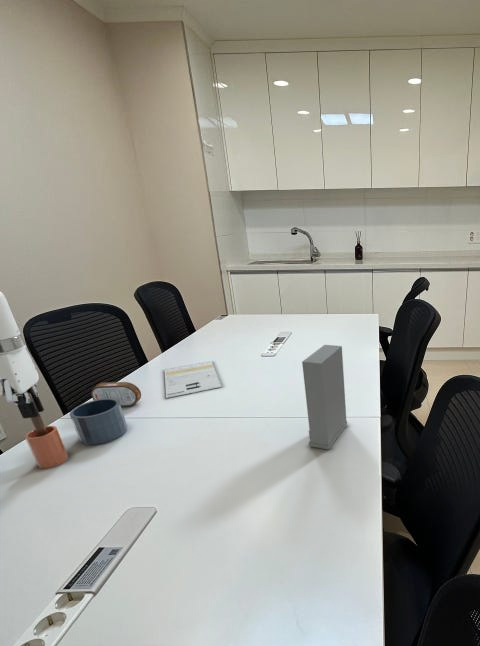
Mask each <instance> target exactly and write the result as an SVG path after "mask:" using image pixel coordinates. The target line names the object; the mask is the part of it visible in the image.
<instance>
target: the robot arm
mask: <svg viewBox="0 0 480 646" xmlns="http://www.w3.org/2000/svg"><path fill="white" fill-rule="evenodd" d="M39 380H40V375H39V373H38V370H37V368H36V365H35V363H34V361H33V359H32V357H31V355H30V354H29V352H28V350H27V345H26V343H25V341H24V338H23V336H22V333H21V331H20V329H19V327H18V324H17V321H16V318H15V317H14V314H13V312H12V310H11V308H10V304H9V302H8V300H7V298H6V295H5V294H4V293H3V292H2V291H0V397H5V399H6V402H7V403H13V404H14V405H15V406H17V408H18V410H19V413H20V414H21V417H22V419H30V418H32V417H37V416H39V414H40V413H42V412H44V411H45V408H44V406H43V403H42V401H41V399H40V397H39V392H38V390H37V389H38V388H37V386H38V382H39ZM28 393H31V395H32V398H33V400H34V402H35V404H34V402H33V401H32V402H31V400H30V398H29V395H28ZM20 395H23V397H22V396H20ZM35 405H36V406H35ZM36 407H37V409H38V411H39V413H38V411H37V409H36Z"/></svg>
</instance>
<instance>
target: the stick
mask: <svg viewBox="0 0 480 646" xmlns="http://www.w3.org/2000/svg"><path fill="white" fill-rule="evenodd" d="M28 395H29V398H30V400H31V402H32V401H33V402H34V400H33V398H32V395H31V393H28ZM19 396H22V397H23V395H19ZM34 404H35V402H34ZM35 406H36V405H35ZM36 409H37V407H36ZM37 411H38V409H37ZM38 413H39V416H37V417H32V418H29V419H30V421H31V423H32V425H33V428H34V429H35V430H36V432H37V434H38V437H40V436H44V435H46V434H48V432H47V430H46V427H45V426H46V425H45V423H44V421H43V418H42V416H41V413H40V412H39V411H38Z"/></svg>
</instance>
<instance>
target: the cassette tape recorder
mask: <svg viewBox="0 0 480 646" xmlns="http://www.w3.org/2000/svg"><path fill="white" fill-rule="evenodd" d="M301 363H302V364H301V365H302V372H303V373H302V374H303V382H304V383H303V384H304V392H305V401H306V409H307V411H306V412H307V420H308V428H309V430H308V437H309V442H308V447H311V448H317V449H324V450H327V451H328V450H330V449H331V448H332V446H333V444H334V443H335V442H336V440H337V439H338V438H339V437H340V435H341V434H342V433H343V432H344V429H345V428H346V426H348V421H347V407H346V406H347V405H346V392H345V391H346V390H345V389H346V388H345V375H344V374H345V373H344V360H343V346H342V345H332V344H323V345H322V346H321V347H320V348H318V349H317V350H315V351H314V352H313V353H312V354H310V355H309V356H308V357H306V358H304V360H303V361H302V362H301Z"/></svg>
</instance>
